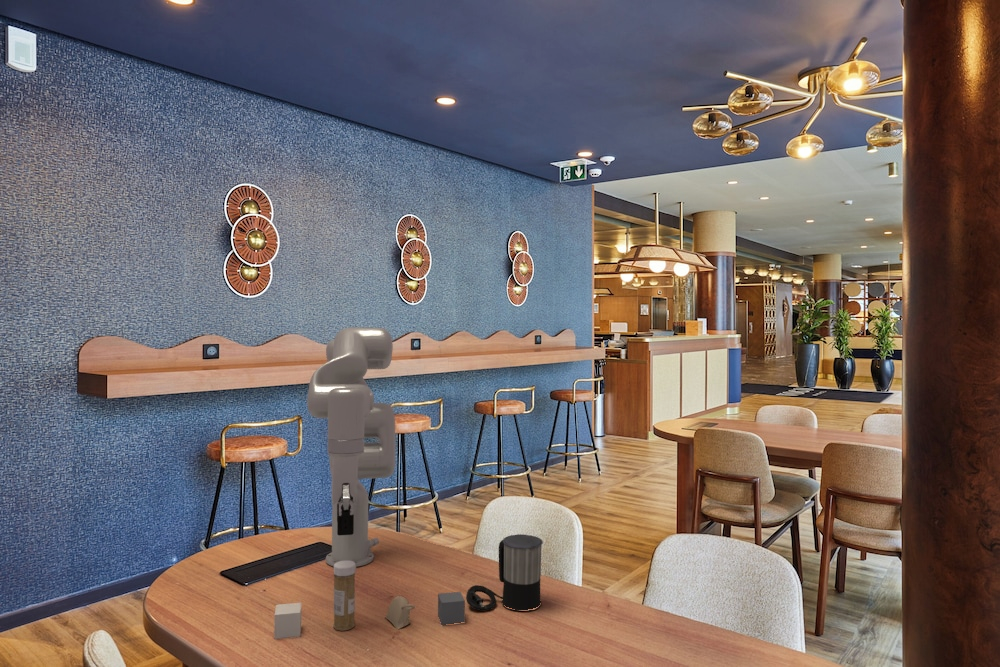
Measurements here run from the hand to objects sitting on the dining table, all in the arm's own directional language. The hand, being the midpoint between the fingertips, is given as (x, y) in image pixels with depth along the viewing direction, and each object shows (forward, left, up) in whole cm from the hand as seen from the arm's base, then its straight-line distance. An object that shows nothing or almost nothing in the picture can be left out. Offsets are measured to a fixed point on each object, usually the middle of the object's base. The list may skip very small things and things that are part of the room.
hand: (345, 527), depth 140 cm
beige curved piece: (-8, +8, -21) cm, 24 cm away
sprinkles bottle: (0, 0, -21) cm, 21 cm away
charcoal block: (-15, +17, -21) cm, 31 cm away
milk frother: (-28, +23, -21) cm, 42 cm away
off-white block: (+8, -8, -21) cm, 24 cm away
